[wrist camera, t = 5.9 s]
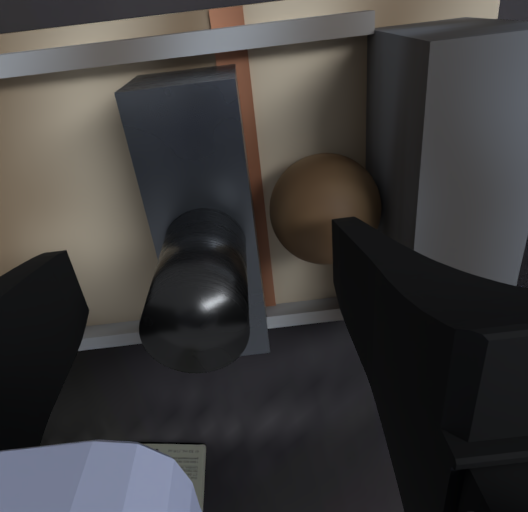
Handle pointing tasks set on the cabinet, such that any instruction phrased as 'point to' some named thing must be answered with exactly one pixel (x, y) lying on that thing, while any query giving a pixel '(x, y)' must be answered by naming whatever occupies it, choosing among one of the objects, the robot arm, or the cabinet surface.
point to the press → (277, 142)
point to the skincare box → (188, 463)
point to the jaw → (196, 218)
